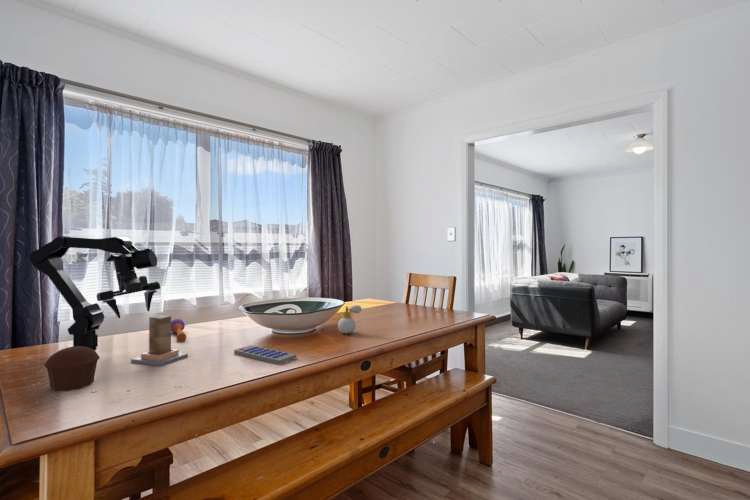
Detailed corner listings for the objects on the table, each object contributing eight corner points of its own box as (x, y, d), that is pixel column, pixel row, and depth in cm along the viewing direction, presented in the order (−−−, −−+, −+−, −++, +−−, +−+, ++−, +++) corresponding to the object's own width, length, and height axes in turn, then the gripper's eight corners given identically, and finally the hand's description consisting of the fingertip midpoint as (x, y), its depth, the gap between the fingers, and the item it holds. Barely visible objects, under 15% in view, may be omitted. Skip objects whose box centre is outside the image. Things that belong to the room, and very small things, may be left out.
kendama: (171, 332, 148) (167, 319, 164) (174, 347, 149) (169, 332, 166) (188, 328, 151) (182, 315, 168) (191, 342, 152) (185, 328, 169)
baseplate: (131, 362, 123) (131, 354, 123) (159, 353, 134) (159, 345, 134) (160, 366, 120) (160, 358, 120) (187, 356, 130) (187, 349, 130)
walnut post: (149, 357, 125) (149, 317, 125) (160, 353, 129) (160, 315, 129) (159, 358, 124) (160, 318, 124) (170, 355, 128) (171, 316, 128)
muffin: (54, 397, 95) (53, 357, 95) (37, 387, 101) (36, 349, 101) (107, 382, 105) (107, 346, 105) (89, 374, 111) (89, 340, 111)
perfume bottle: (334, 332, 167) (334, 305, 167) (353, 329, 173) (353, 303, 172) (343, 336, 161) (344, 307, 161) (363, 333, 167) (363, 305, 167)
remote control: (279, 366, 123) (279, 359, 123) (231, 354, 134) (231, 348, 134) (296, 360, 130) (296, 353, 130) (249, 349, 141) (249, 343, 141)
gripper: (99, 275, 126) (108, 322, 126) (161, 265, 139) (169, 308, 139) (92, 277, 133) (101, 321, 134) (151, 267, 147) (159, 307, 147)
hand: (134, 314), depth 138 cm, fingers open, 9 cm apart
